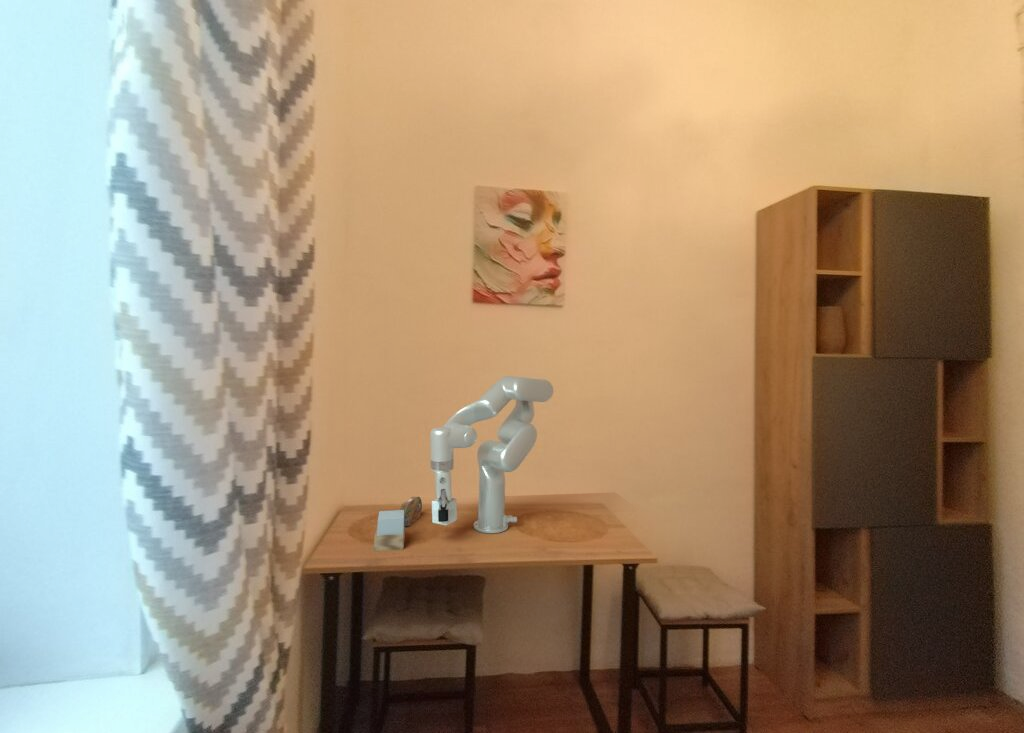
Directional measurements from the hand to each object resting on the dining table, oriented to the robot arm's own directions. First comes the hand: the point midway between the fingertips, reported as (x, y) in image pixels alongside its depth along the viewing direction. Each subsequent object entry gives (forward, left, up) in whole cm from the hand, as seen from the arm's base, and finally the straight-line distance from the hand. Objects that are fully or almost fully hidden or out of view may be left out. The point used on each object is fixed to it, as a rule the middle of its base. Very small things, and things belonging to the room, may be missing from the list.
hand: (442, 515), depth 149 cm
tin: (+11, -19, -9) cm, 24 cm away
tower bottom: (+17, 0, -9) cm, 19 cm away
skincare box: (-1, 0, -2) cm, 2 cm away
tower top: (+17, 0, -4) cm, 17 cm away
